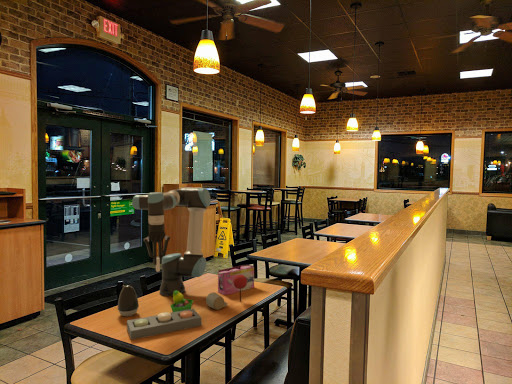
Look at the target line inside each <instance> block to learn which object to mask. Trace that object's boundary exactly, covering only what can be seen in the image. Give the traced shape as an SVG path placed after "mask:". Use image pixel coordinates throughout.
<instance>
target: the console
mask: <svg viewBox="0 0 512 384" xmlns="http://www.w3.org/2000/svg"><path fill="white" fill-rule="evenodd" d="M183 311H191V312H192V313H193V317H188V318H182V319H181V318H180V313H181V312H183ZM183 311H177V312H170V313H171V320H170V321H167V322H158V314H156V315H150V316H145V317H144V316H143V317H140V318H135V319H129V320H126V330H127V334H128V335H129V338H130V340H131V341H133V340H132V339H134V340H138V339H137V338H139V339H143V338H142V337H144V338H147V337H148V338H149V337H153V336H157V335H162V334H163V335H164V334H166V333H168V334H169V333H172V332H177V331H181V330H186V329H191V328H197V327H201V326H202V316H201V315H200V314H199V313H198V312H197V311H196V309H194V308H191V309H188V310H183ZM139 319H147V320H148V325H146V326H141V327H135V323H134V322H135V321H136V320H139Z"/></svg>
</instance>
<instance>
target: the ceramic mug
mask: <svg viewBox="0 0 512 384" xmlns="http://www.w3.org/2000/svg"><path fill="white" fill-rule="evenodd" d="M205 302H206V303H205V304H206V305H207V306H208V307H210V308H212V309H214V310H216V311H218V310H222V309H223V307H227V306H228V303H227V302H226V301H225V299H224V297H223V296H221V295H220V294H218V293H216V292H214V291H213V292H209V294H208V295H207V296H206V298H205Z"/></svg>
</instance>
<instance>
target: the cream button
mask: <svg viewBox="0 0 512 384" xmlns="http://www.w3.org/2000/svg"><path fill="white" fill-rule="evenodd" d="M171 313H172V312H168V311H167V312H165V311H164V312H161V313H158V314H157V315H158V322H167V321H170V320H171Z"/></svg>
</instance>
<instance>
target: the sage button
mask: <svg viewBox="0 0 512 384" xmlns="http://www.w3.org/2000/svg"><path fill="white" fill-rule="evenodd" d="M138 319H139V318H138ZM134 323H135V327H141V326H146V325H148V320H147V319H139V320H136V321H135V322H134Z"/></svg>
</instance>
